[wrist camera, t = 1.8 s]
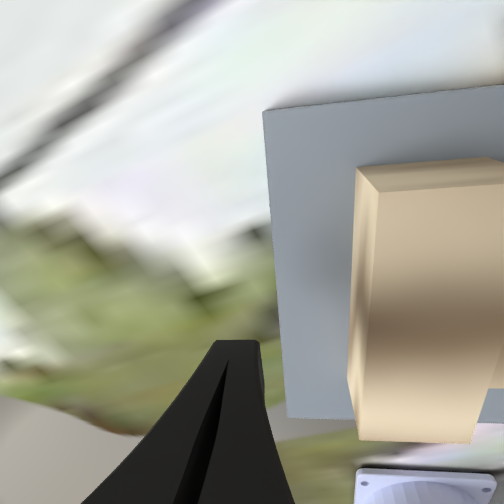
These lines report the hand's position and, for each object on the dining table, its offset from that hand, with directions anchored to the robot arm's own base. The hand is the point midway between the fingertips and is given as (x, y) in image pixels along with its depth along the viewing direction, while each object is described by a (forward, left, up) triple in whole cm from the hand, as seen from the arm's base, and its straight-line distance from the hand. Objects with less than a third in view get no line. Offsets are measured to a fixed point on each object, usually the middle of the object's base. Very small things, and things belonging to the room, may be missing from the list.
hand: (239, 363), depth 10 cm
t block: (0, -10, -4) cm, 10 cm away
